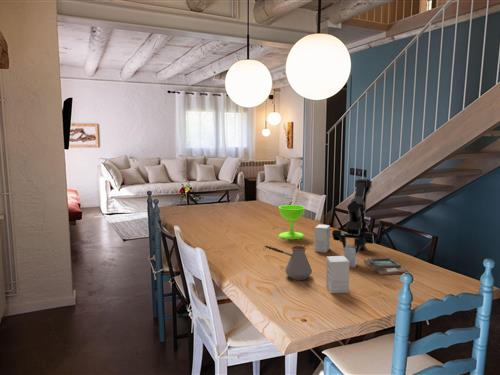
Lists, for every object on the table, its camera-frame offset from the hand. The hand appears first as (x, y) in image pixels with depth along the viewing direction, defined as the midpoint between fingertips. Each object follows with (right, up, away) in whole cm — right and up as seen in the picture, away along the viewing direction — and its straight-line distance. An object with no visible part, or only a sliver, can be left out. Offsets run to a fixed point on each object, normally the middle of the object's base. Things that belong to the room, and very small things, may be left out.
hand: (350, 252), depth 179 cm
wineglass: (-21, 0, +57) cm, 60 cm away
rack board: (+15, -7, -2) cm, 17 cm away
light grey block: (0, -6, +2) cm, 7 cm away
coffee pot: (-31, -9, -14) cm, 35 cm away
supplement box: (-12, -10, -27) cm, 32 cm away
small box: (-8, -4, +27) cm, 28 cm away
